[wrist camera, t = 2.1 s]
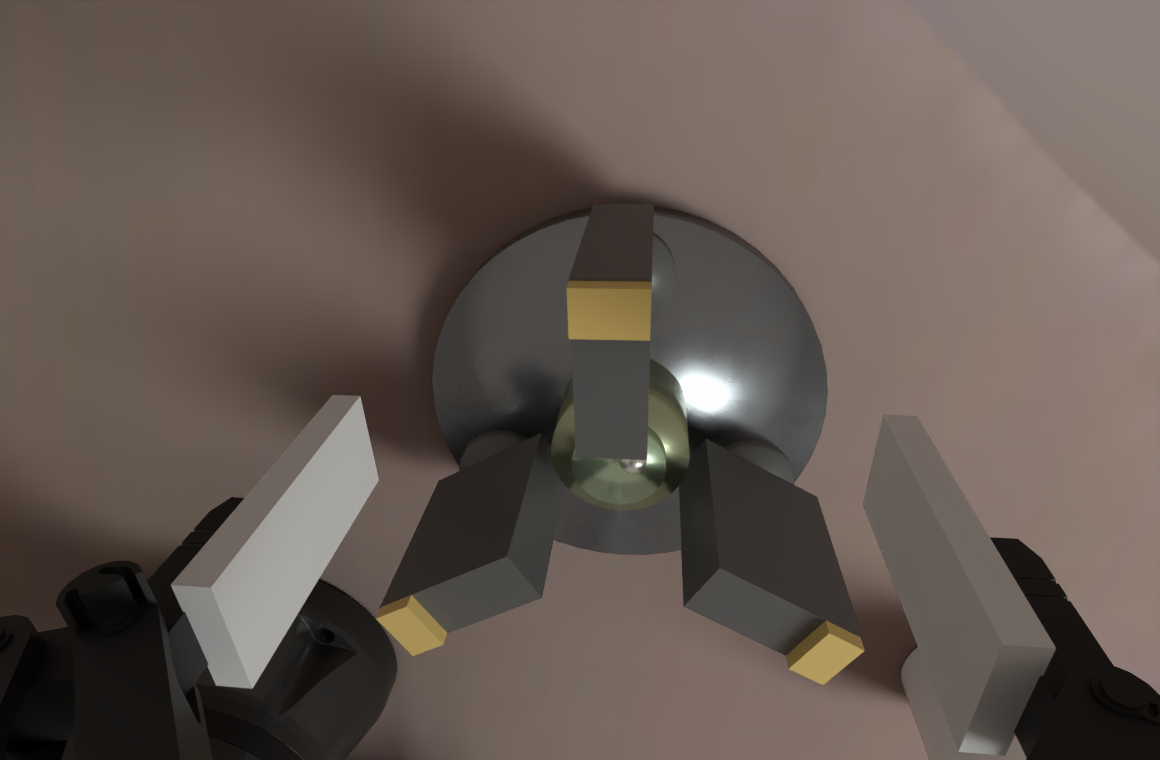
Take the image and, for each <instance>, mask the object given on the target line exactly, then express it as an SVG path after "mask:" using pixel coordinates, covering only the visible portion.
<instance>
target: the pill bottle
mask: <svg viewBox="0 0 1160 760" xmlns="http://www.w3.org/2000/svg"><path fill="white" fill-rule="evenodd" d="M901 680H902V685H903V688H904V691H905V694H906V696H907V699H908V702H909V705H910V708H911V710H912V713H913V716H914V719H915V722H916V724H917V727H918V730H919V733H920V736H921V738H922V741H923V744H924V747H925V750H926V752H927V755H928V758H929V760H1026V759H1027V758H1026V756H1025V754H1024V752H1023V749H1022V747H1021V745H1020V743H1019V741H1018V739H1017V737H1016V735H1015V736H1014V738H1013V741H1012V743H1011V745H1010V747H1009V749H1008V751H1007V753H1006V755H1005V756H1000V755H989V754H978V753H967V752H958V749H957V747H956V744H955V742H954V739H953V736H952V734H951V731H950V729H949V726H948V723H947V721H946V718H945V716H944V713H943V710H942V708H941V705H940V703H939V700H938V698H937V695H936V692H935V690H934V687H933V685H932V682H931V679H930V677H929V674H928V672H927V669H926V667H925V664H924V661H923V659H922V656H921V654H920V651H919V648H918V647H917V648H916V649H915V650H914V651H912V652H911V653H910V655H909V656H908V657H907V659H906V660H905V662H904V664H903V667H902V670H901Z"/></svg>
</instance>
